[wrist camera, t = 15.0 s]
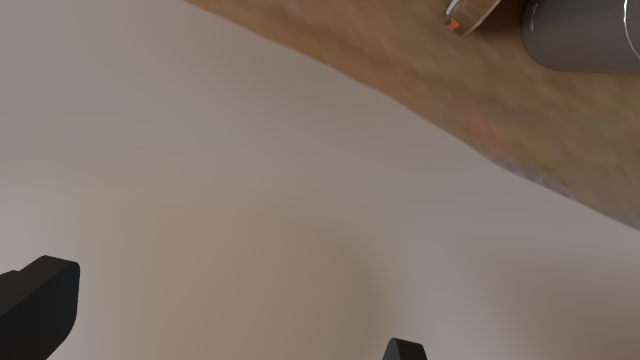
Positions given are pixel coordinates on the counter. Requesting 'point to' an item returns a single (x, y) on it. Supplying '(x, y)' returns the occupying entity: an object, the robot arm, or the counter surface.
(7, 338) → the robot arm
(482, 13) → the tin
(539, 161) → the counter surface
